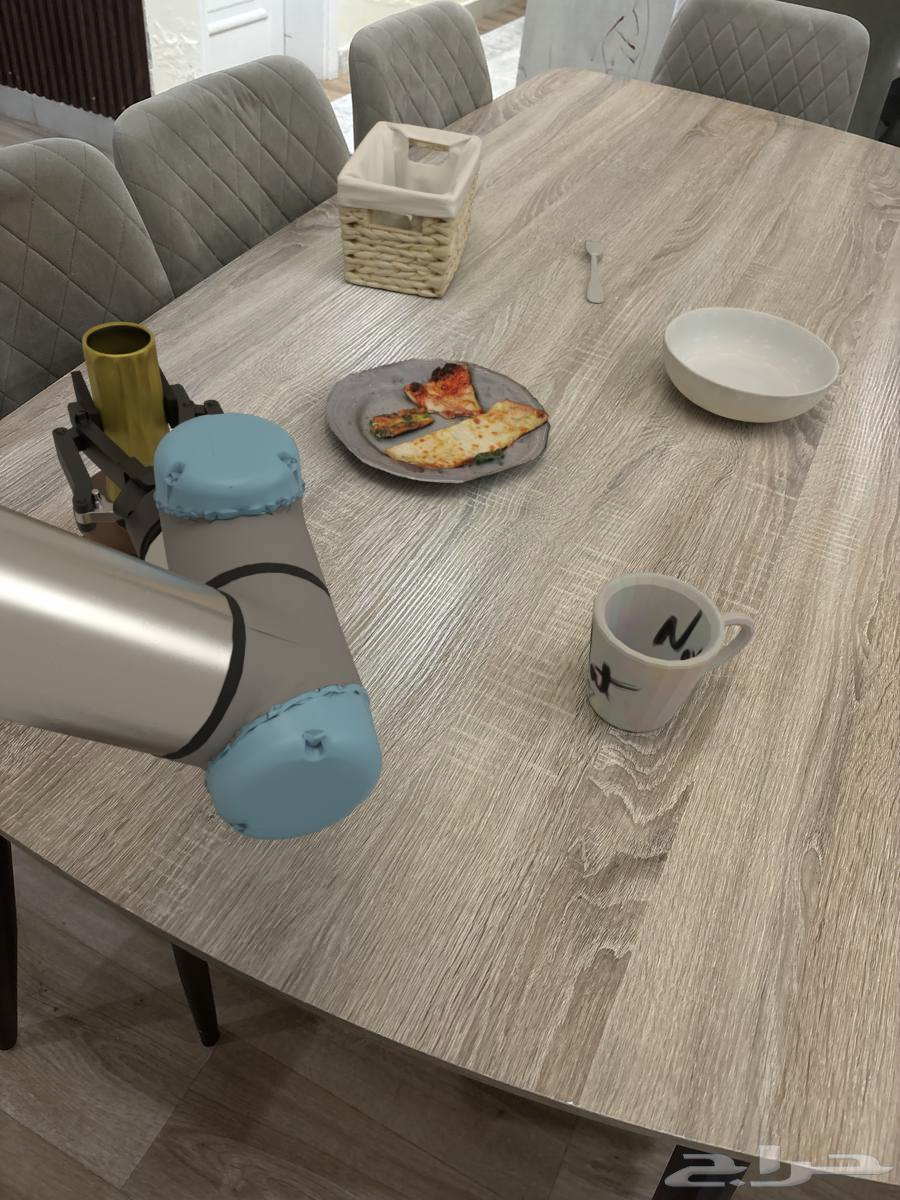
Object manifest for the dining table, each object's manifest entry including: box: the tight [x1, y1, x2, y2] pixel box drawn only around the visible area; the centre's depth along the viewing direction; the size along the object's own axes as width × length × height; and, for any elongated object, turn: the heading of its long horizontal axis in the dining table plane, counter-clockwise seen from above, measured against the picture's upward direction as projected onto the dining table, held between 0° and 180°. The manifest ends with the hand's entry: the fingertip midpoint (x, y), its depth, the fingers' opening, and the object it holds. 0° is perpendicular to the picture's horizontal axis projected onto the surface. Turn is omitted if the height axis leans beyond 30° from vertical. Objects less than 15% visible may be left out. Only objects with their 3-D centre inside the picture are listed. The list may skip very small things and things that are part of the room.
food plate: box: [323, 357, 552, 484], centre depth 104 cm, size 25×23×4 cm
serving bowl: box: [662, 306, 840, 423], centre depth 115 cm, size 21×21×7 cm
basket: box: [336, 120, 484, 298], centre depth 131 cm, size 24×16×15 cm
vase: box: [81, 321, 171, 503], centre depth 75 cm, size 6×6×14 cm
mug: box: [586, 571, 756, 733], centre depth 77 cm, size 10×15×10 cm
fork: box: [585, 239, 605, 304], centre depth 139 cm, size 3×21×3 cm, turn 175°
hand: (116, 379), depth 78 cm, fingers closed on vase, 5 cm apart
